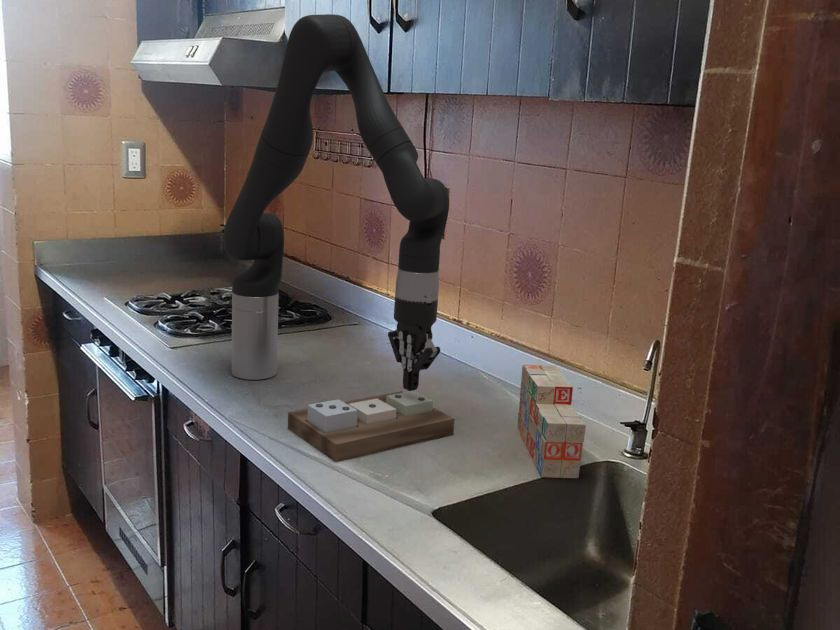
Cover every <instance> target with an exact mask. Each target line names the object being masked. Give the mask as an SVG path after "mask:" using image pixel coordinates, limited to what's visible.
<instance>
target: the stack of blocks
mask: <svg viewBox="0 0 840 630" xmlns="http://www.w3.org/2000/svg"><path fill="white" fill-rule="evenodd" d="M573 389H574V386H572V384H571V383H570V382H569V381H568V380H567V378H566V377H565V376H564V374H563V373H562V371H561V370H560V369H559V367H558V366H557V365H543V364H541V365H539V364H522V367H521V381H520V392H519V409H518V414H517V425H516V426H517V429H518V432H519V435H520V437H521V439H522V442H523V444H524V446H525V447H526V449H527V451H528V452H529V455H530V456H531V458H532V460H533V463H534V466H535V468H536V469H537V471H538V474H539V476H540V478H558V479H559V478H560V479H561V478H562V479H579V477H580V467H581V461H582V454H583V444H584V442H585V434H586V427H587V425H586V422H585V421H584V420H583V419H582V417H581V415H580V414H579V413H578V411H576V408H575V407H574V406H573V405H572V401H573V400H572V399H573V391H574V390H573Z"/></svg>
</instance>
